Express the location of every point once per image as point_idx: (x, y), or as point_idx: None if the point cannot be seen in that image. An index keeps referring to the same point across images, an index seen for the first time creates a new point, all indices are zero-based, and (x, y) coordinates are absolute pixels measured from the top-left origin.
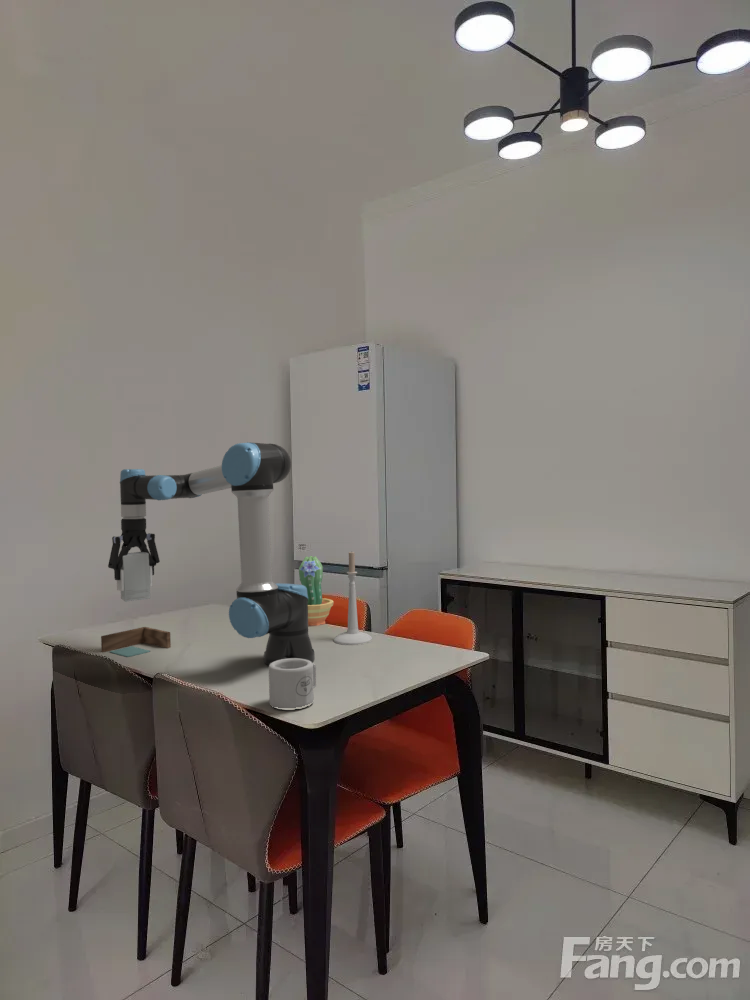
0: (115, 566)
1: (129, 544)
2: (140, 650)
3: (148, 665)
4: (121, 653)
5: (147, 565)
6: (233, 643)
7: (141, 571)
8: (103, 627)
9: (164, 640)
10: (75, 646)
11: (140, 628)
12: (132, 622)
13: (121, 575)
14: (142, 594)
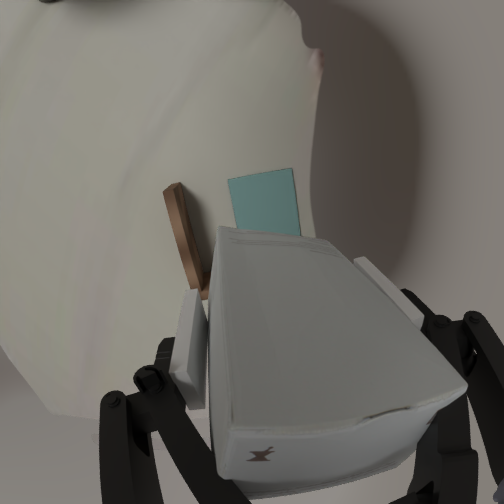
0: (468, 322)
1: (471, 492)
2: (245, 198)
3: (286, 66)
4: (290, 204)
5: (240, 326)
6: (52, 128)
7: (288, 301)
8: None
9: (180, 198)
10: None
11: None
12: None
13: (405, 296)
14: (258, 237)
